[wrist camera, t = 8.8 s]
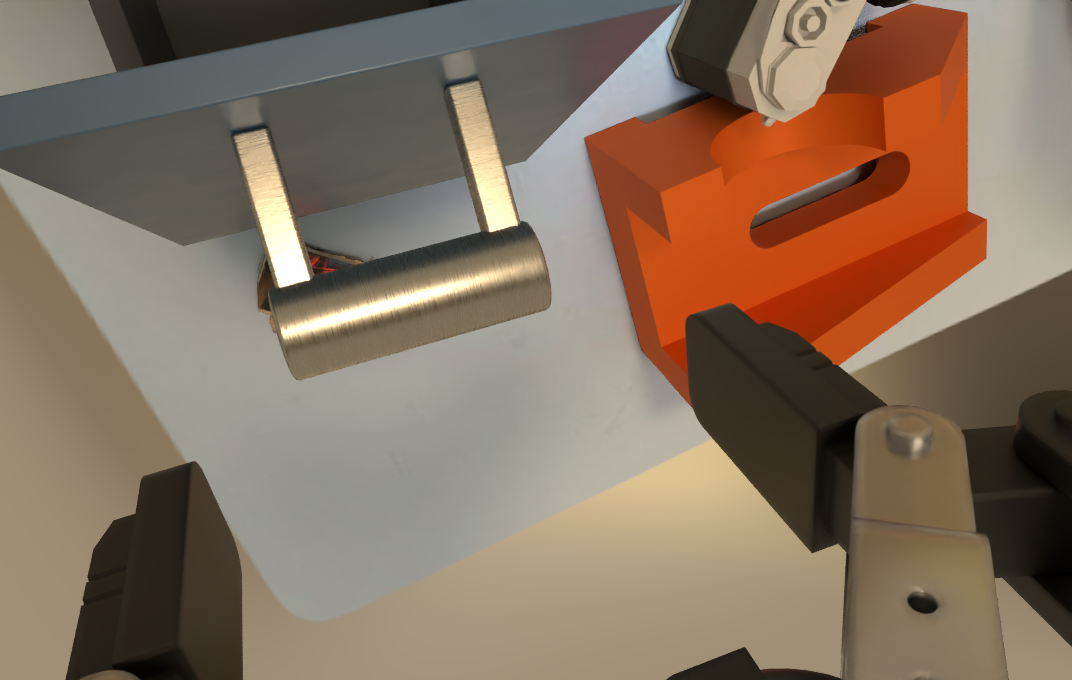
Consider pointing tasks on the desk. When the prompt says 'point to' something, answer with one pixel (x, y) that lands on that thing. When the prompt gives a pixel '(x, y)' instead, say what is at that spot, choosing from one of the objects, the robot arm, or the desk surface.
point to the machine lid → (341, 155)
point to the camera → (764, 50)
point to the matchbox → (319, 265)
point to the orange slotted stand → (816, 229)
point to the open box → (224, 24)
